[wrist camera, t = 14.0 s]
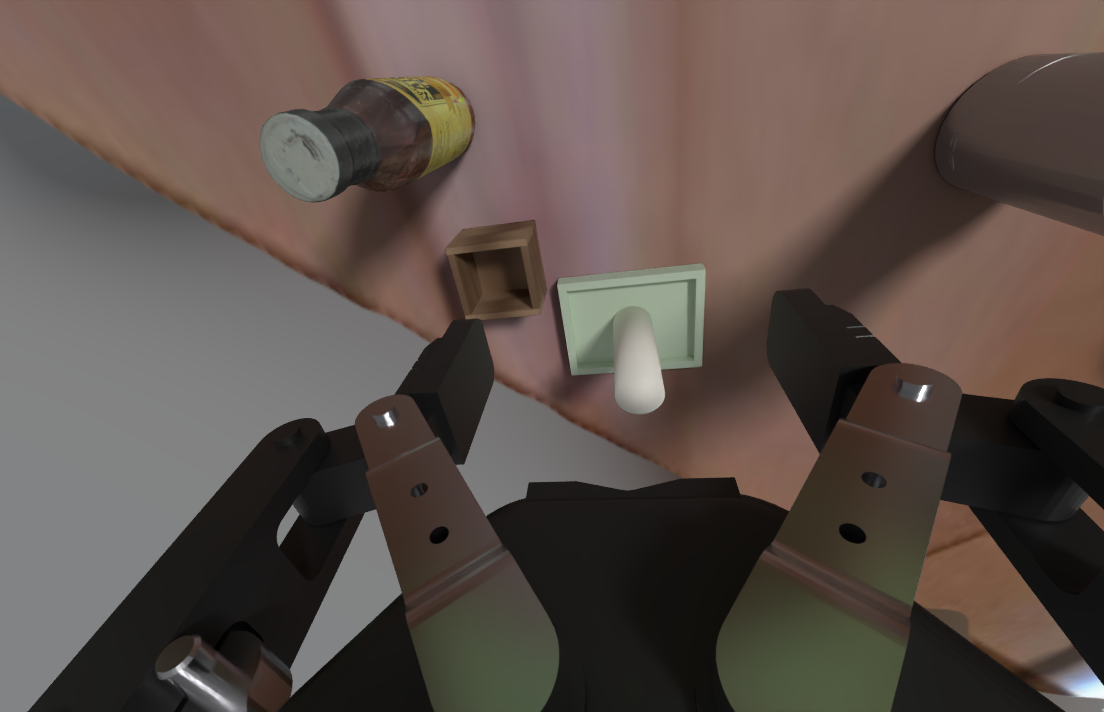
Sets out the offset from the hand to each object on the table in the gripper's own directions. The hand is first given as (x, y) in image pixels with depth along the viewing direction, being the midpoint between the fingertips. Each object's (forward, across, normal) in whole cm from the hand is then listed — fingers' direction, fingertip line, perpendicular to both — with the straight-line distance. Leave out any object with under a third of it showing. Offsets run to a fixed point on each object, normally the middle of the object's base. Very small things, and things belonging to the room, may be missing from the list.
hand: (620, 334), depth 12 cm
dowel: (+30, -1, +16) cm, 34 cm away
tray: (+30, -1, +16) cm, 34 cm away
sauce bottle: (+30, +14, -5) cm, 34 cm away
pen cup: (+30, +11, +8) cm, 33 cm away
